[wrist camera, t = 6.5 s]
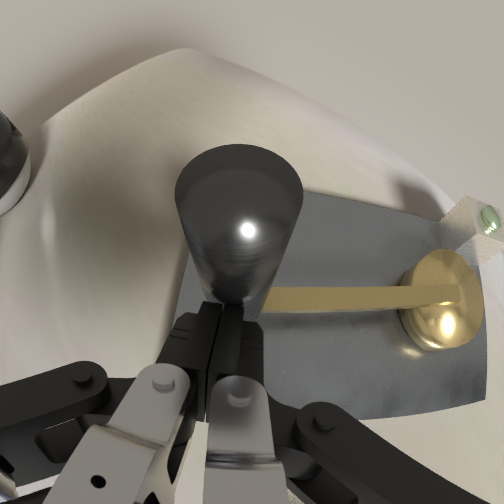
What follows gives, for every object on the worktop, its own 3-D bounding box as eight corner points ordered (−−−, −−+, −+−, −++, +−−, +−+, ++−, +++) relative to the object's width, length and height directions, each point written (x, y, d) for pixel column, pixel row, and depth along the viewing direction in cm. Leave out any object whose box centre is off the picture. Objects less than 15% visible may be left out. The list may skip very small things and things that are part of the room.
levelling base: (459, 240, 22) (502, 203, 16) (470, 400, 15) (528, 393, 9) (211, 193, 23) (205, 127, 16) (167, 396, 16) (128, 406, 9)
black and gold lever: (454, 262, 19) (546, 185, 8) (468, 344, 16) (583, 295, 5) (215, 256, 18) (196, 99, 7) (209, 369, 15) (153, 352, 4)
